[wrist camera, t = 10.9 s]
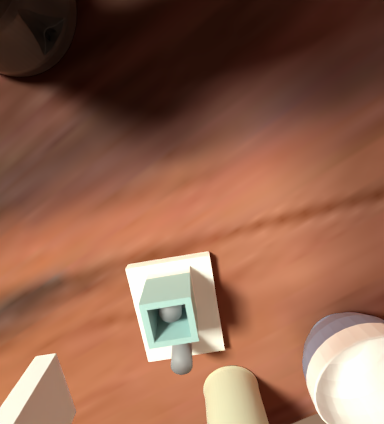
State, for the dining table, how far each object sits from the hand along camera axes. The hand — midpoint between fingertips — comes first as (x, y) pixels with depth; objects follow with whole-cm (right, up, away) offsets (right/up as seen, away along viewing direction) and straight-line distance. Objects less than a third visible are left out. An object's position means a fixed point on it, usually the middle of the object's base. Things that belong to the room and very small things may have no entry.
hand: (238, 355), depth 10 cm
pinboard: (-4, -9, +32) cm, 33 cm away
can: (+5, -24, +36) cm, 44 cm away
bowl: (+21, -15, +34) cm, 43 cm away
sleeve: (-5, -6, +29) cm, 30 cm away
